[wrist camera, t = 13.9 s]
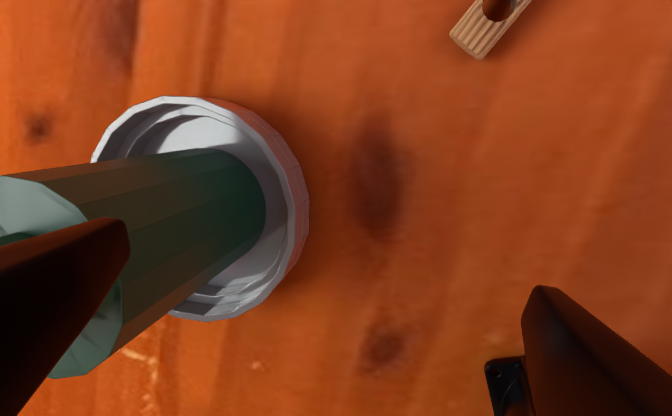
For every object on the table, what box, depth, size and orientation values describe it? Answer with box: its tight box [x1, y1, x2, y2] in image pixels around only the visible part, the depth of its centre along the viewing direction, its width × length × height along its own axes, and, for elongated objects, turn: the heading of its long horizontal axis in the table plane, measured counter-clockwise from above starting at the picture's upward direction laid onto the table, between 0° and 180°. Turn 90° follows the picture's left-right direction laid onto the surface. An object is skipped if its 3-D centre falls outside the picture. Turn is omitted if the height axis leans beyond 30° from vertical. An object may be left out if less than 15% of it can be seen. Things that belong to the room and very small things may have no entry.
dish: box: [91, 95, 310, 322], centre depth 22 cm, size 12×12×3 cm
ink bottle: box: [0, 148, 266, 379], centre depth 16 cm, size 7×7×14 cm
